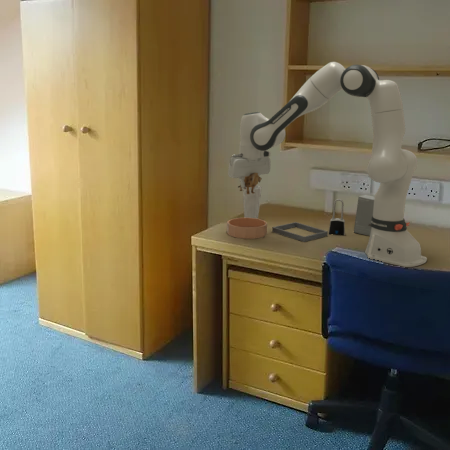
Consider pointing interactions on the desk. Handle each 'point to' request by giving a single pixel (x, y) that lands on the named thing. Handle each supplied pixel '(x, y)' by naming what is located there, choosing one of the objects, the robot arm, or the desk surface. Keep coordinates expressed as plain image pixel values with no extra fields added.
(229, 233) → the bowl
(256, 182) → the lion figurine
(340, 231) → the padlock
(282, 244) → the desk surface
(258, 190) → the cup
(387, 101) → the robot arm
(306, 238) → the tray
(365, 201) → the skincare box
